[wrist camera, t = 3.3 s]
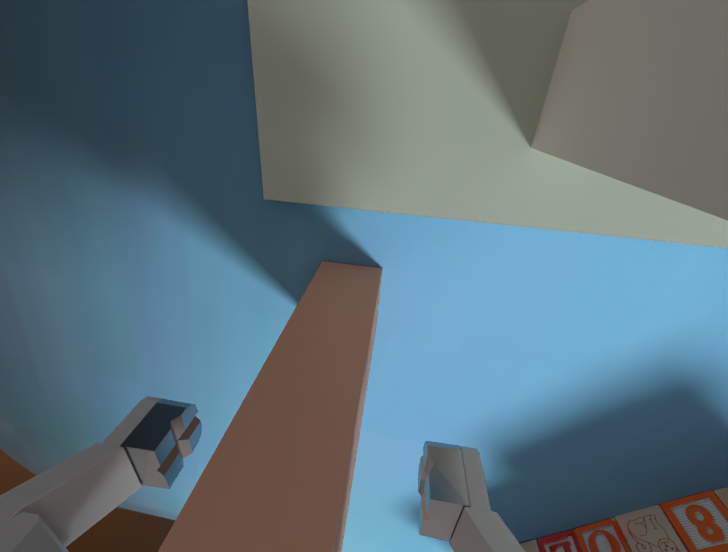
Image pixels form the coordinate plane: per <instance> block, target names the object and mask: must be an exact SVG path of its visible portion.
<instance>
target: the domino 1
mask: <svg viewBox="0 0 728 552" xmlns="http://www.w3.org/2000/svg"><path fill="white" fill-rule="evenodd" d="M381 276H382V268H377V267H369V266H360V265H352V264H343V263H335V262H327V261H322V262H321V264H320V266H319V268H318V269H317V271H316V273H315V275H314V277H313V278H312V280H311V282H310V284H309V285H308V287H307V289H306V291H305V292H304V294H303V296H302V298H301V300H300V301H299V303H298V305H297V307H296V308H295V310H294V312H293V314H292V315H291V317H290V319H289V321H288V323H287V324H286V326H285V328H284V330H283V331H282V333H281V335H280V337H279V338H278V340H277V342H276V344H275V346H274V347H273V349H272V351H271V353H270V354H269V356H268V358H267V360H266V362H265V363H264V365H263V367H262V369H261V370H260V372H259V374H258V376H257V377H256V379H255V381H254V383H253V385H252V386H251V388H250V390H249V392H248V393H247V395H246V397H245V399H244V400H243V402H242V404H241V406H240V408H239V409H238V411H237V413H236V415H235V416H234V418H233V420H232V422H231V423H230V425H229V427H228V429H227V431H226V432H225V434H224V436H223V438H222V439H221V441H220V443H219V445H218V447H217V448H216V450H215V452H214V454H213V455H212V457H211V459H210V461H209V462H208V464H207V466H206V468H205V470H204V471H203V473H202V475H201V477H200V478H199V480H198V482H197V484H196V485H195V487H194V489H193V491H192V493H191V494H190V496H189V498H188V500H187V501H186V503H185V505H184V507H183V508H182V510H181V512H180V514H179V516H178V517H177V519H176V521H175V523H174V525H173V526H172V528H171V530H170V532H169V533H168V535H167V537H166V539H165V540H164V542H163V544H162V546H161V547H160V549H159V551H158V552H341V550H342V544H343V538H344V531H345V525H346V518H347V512H348V505H349V499H350V493H351V486H352V480H353V473H354V467H355V460H356V454H357V448H358V441H359V435H360V428H361V422H362V415H363V409H364V403H365V396H366V390H367V383H368V377H369V371H370V364H371V358H372V351H373V345H374V338H375V332H376V322H377V313H378V304H379V294H380V285H381Z"/></svg>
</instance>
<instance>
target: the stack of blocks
mask: <svg viewBox="0 0 728 552" xmlns="http://www.w3.org/2000/svg"><path fill="white" fill-rule="evenodd" d="M520 545H521V546H522V548H523V549H524V550H525V552H728V487H725V488H721V489H717V490H714V491H707V492H703V493H700V494H696V495H692V496H688V497H685V498H681V499H677V500H673V501H670V502H666V503H662V504H660V505H655V506H651V507H647V508H643V509H639V510H636V511H632V512H628V513H625V514H621V515H617V516H615V517H614V518H611V519H606V520H603V521H600V522H597V523H592V524H589V525H586V526H581V527H578V528H575V529H574V530H568V531H564V532H560V533H557V534H553V535H550V536H547V537H543V538H540V539H538V540H535V539H534V540H531V541H527V542H524V543H520Z"/></svg>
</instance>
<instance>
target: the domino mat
mask: <svg viewBox="0 0 728 552" xmlns="http://www.w3.org/2000/svg"><path fill="white" fill-rule="evenodd" d="M587 1H589V0H247V4H248V16H249V28H250V40H251V52H252V64H253V76H254V88H255V100H256V112H257V124H258V136H259V148H260V160H261V172H262V184H263V196H264V199H265V200H275V201H284V202H294V203H303V204H313V205H322V206H332V207H341V208H351V209H360V210H369V211H379V212H388V213H398V214H407V215H417V216H426V217H436V218H445V219H455V220H464V221H474V222H483V223H493V224H502V225H512V226H521V227H531V228H540V229H550V230H559V231H569V232H578V233H588V234H597V235H607V236H616V237H626V238H635V239H645V240H654V241H664V242H673V243H683V244H692V245H702V246H711V247H721V248H728V221H727V220H725V219H722V218H719V217H717V216H714V215H711V214H709V213H706V212H703V211H700V210H698V209H695V208H692V207H690V206H687V205H684V204H681V203H679V202H676V201H673V200H671V199H668V198H665V197H662V196H660V195H657V194H654V193H652V192H649V191H646V190H643V189H641V188H638V187H635V186H633V185H630V184H627V183H624V182H622V181H619V180H616V179H614V178H611V177H608V176H605V175H603V174H600V173H597V172H595V171H592V170H589V169H587V168H584V167H581V166H578V165H576V164H573V163H570V162H568V161H565V160H562V159H559V158H557V157H554V156H551V155H549V154H546V153H543V152H540V151H538V150H535V149H532V148H531V146H532V142H533V139H534V136H535V132H536V129H537V126H538V122H539V119H540V116H541V112H542V109H543V105H544V102H545V99H546V95H547V92H548V89H549V85H550V82H551V79H552V75H553V72H554V69H555V65H556V62H557V58H558V55H559V52H560V48H561V45H562V42H563V38H564V35H565V32H566V28H567V25H568V22H569V18H570V15H571V11H572V10H573V9H575V8H577V7H579V6H580V5H582V4H584V3H585V2H587Z"/></svg>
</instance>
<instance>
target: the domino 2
mask: <svg viewBox="0 0 728 552" xmlns="http://www.w3.org/2000/svg"><path fill="white" fill-rule="evenodd" d="M531 148H532V149H535V150H538V151H540V152H543V153H546V154H549V155H551V156H554V157H557V158H559V159H562V160H565V161H568V162H570V163H573V164H576V165H578V166H581V167H584V168H587V169H589V170H592V171H595V172H597V173H600V174H603V175H605V176H608V177H611V178H614V179H616V180H619V181H622V182H624V183H627V184H630V185H633V186H635V187H638V188H641V189H643V190H646V191H649V192H652V193H654V194H657V195H660V196H662V197H665V198H668V199H671V200H673V201H676V202H679V203H681V204H684V205H687V206H690V207H692V208H695V209H698V210H700V211H703V212H706V213H709V214H711V215H714V216H717V217H719V218H722V219H725V220H727V221H728V0H589V1H587V2H585V3H584V4H582V5H580V6H579V7H577V8H575V9H573V10H572V11H571V15H570V18H569V22H568V25H567V28H566V32H565V35H564V38H563V42H562V45H561V48H560V52H559V55H558V58H557V62H556V65H555V69H554V72H553V75H552V79H551V82H550V85H549V89H548V92H547V95H546V99H545V102H544V105H543V109H542V112H541V116H540V119H539V122H538V126H537V129H536V132H535V136H534V139H533V142H532V146H531Z"/></svg>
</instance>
